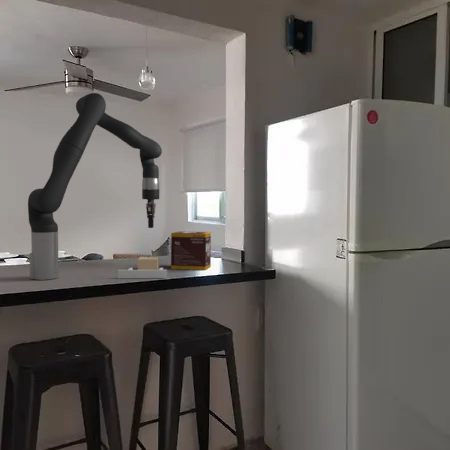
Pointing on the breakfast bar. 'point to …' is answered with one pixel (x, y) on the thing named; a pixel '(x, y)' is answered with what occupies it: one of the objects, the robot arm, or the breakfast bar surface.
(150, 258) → the carton
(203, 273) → the breakfast bar surface
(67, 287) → the breakfast bar surface
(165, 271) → the display stand
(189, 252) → the supplement box
